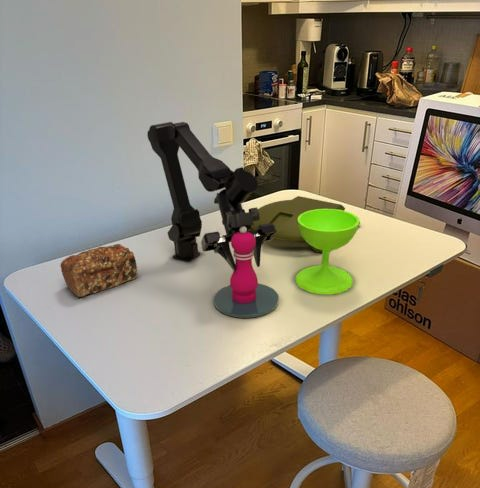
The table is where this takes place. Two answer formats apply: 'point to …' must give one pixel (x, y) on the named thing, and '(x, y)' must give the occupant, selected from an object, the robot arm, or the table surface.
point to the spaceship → (290, 216)
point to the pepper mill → (243, 267)
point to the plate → (260, 306)
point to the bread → (98, 269)
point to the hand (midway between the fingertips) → (247, 268)
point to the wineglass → (326, 248)
